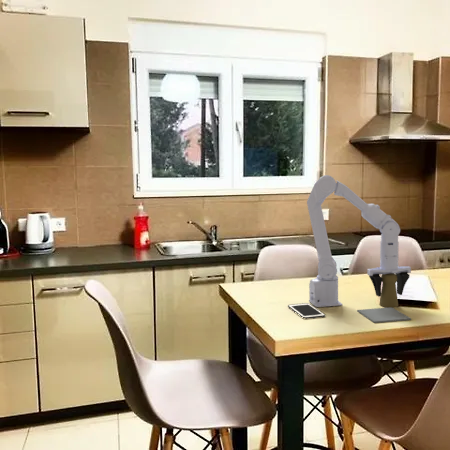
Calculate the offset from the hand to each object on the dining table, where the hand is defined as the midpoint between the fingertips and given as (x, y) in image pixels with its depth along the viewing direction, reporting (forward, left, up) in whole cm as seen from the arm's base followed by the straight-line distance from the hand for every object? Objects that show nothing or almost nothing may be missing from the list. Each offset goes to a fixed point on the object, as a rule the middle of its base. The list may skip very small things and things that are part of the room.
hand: (388, 295), depth 160 cm
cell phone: (-29, 0, -4) cm, 29 cm away
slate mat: (-7, -10, -3) cm, 13 cm away
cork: (0, 0, -4) cm, 4 cm away
